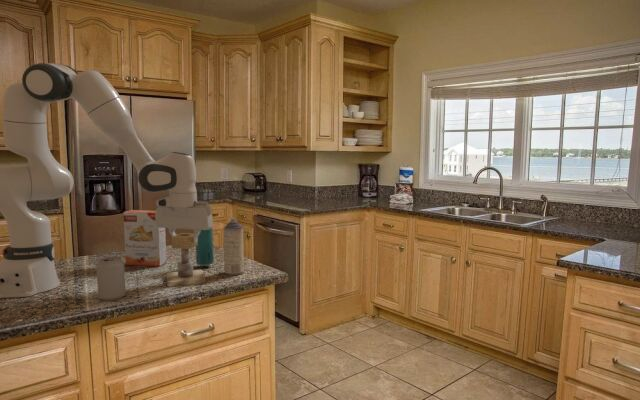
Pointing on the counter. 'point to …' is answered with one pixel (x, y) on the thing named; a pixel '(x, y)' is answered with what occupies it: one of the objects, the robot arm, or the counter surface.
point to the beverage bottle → (205, 248)
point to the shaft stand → (185, 272)
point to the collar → (183, 241)
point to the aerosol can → (233, 248)
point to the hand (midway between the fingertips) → (184, 241)
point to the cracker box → (143, 239)
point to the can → (110, 278)
